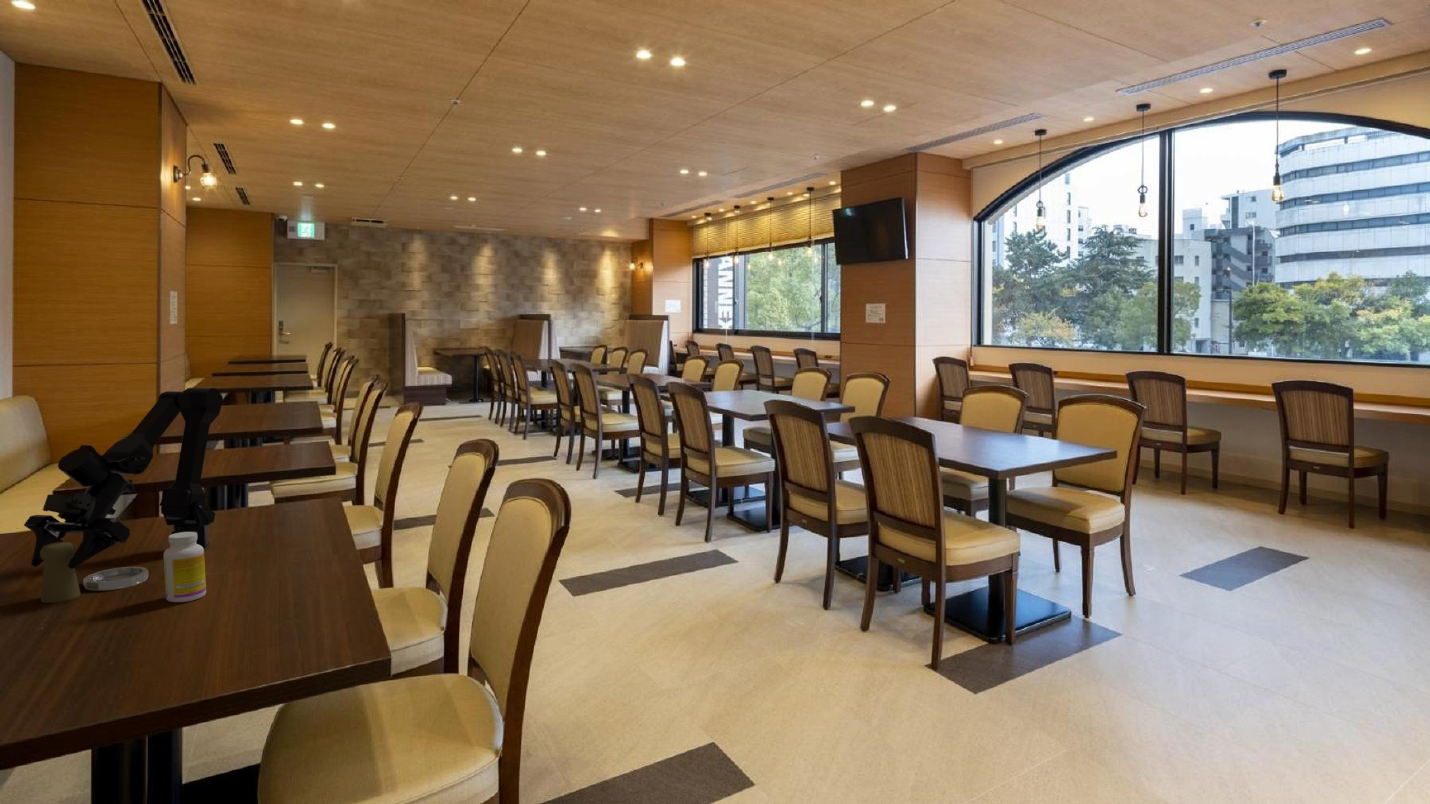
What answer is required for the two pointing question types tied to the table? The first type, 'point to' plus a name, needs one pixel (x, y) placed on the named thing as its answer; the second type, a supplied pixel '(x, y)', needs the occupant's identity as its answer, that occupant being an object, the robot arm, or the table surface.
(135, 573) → the ring seat
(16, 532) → the table surface
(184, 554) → the supplement bottle
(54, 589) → the cork
